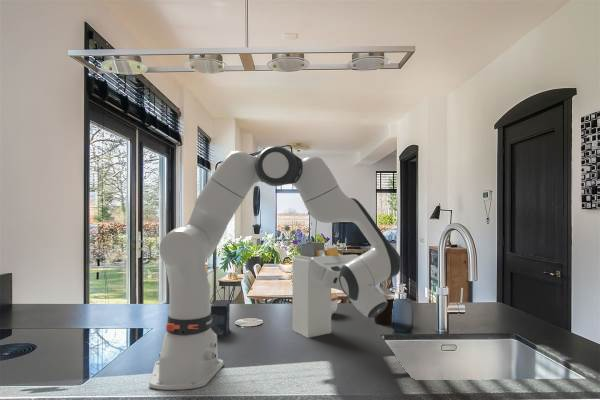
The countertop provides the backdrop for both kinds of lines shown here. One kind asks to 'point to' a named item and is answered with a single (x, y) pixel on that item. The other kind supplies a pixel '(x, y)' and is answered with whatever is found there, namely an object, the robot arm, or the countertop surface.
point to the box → (220, 317)
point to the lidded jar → (334, 303)
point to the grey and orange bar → (316, 250)
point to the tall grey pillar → (309, 301)
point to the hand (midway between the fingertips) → (325, 251)
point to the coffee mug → (385, 312)
